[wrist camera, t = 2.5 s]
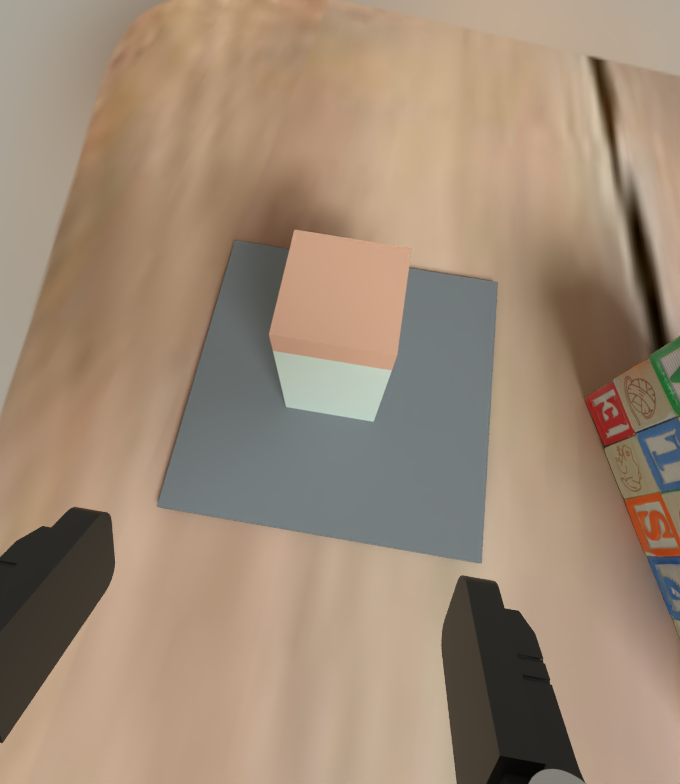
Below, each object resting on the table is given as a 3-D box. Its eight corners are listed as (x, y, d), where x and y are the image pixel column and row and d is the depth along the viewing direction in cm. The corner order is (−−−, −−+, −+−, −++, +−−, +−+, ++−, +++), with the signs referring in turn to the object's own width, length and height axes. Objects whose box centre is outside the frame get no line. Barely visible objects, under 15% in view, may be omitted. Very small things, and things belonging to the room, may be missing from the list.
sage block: (385, 342, 28) (411, 248, 20) (373, 421, 27) (397, 355, 18) (302, 329, 28) (294, 229, 20) (285, 407, 27) (268, 334, 18)
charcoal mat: (495, 285, 30) (497, 282, 30) (479, 563, 25) (481, 563, 24) (236, 244, 31) (235, 240, 30) (159, 507, 25) (156, 506, 25)
